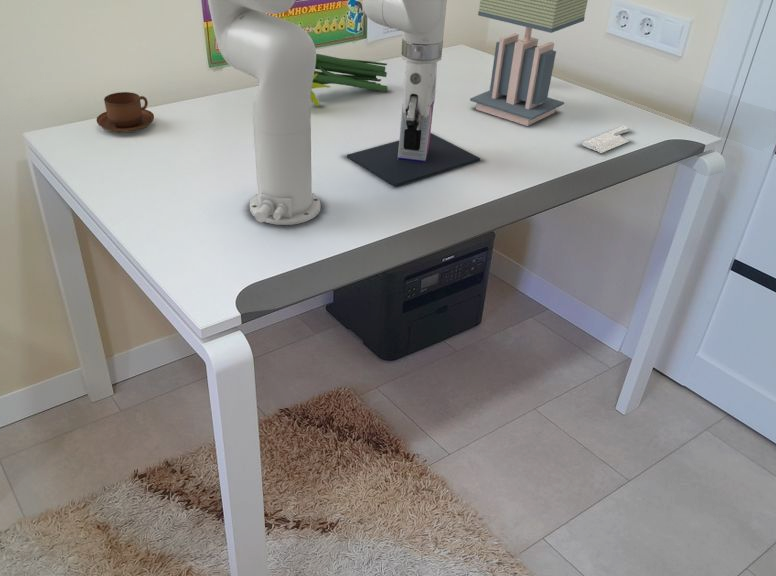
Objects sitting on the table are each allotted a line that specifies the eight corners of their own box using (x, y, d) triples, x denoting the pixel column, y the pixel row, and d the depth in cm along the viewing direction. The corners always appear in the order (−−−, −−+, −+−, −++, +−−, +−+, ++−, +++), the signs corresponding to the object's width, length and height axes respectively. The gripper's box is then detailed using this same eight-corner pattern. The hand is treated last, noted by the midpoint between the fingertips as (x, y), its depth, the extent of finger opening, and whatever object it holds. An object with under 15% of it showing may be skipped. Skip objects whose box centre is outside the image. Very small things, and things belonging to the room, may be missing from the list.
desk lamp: (466, 108, 171) (484, -48, 150) (499, 93, 179) (521, -56, 158) (532, 129, 161) (562, -34, 141) (565, 113, 169) (597, -43, 149)
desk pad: (395, 187, 137) (395, 184, 137) (346, 157, 147) (346, 154, 147) (479, 160, 147) (480, 158, 147) (429, 134, 157) (429, 132, 157)
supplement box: (426, 163, 144) (431, 106, 137) (396, 160, 145) (400, 103, 138) (429, 152, 149) (434, 96, 142) (401, 149, 150) (404, 93, 142)
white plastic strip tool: (641, 136, 159) (643, 131, 158) (601, 153, 152) (602, 148, 151) (622, 129, 162) (623, 124, 161) (581, 145, 155) (582, 140, 154)
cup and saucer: (119, 113, 163) (114, 85, 159) (165, 120, 160) (161, 92, 156) (86, 132, 154) (80, 103, 150) (135, 140, 151) (130, 111, 147)
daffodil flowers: (403, 105, 173) (276, 89, 153) (367, 120, 185) (244, 107, 165) (399, 33, 172) (270, 7, 152) (362, 53, 184) (238, 31, 164)
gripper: (434, 65, 127) (425, 162, 138) (448, 38, 140) (439, 129, 151) (392, 61, 128) (387, 157, 139) (410, 34, 141) (404, 124, 152)
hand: (414, 141), depth 145 cm, fingers closed on supplement box, 5 cm apart
